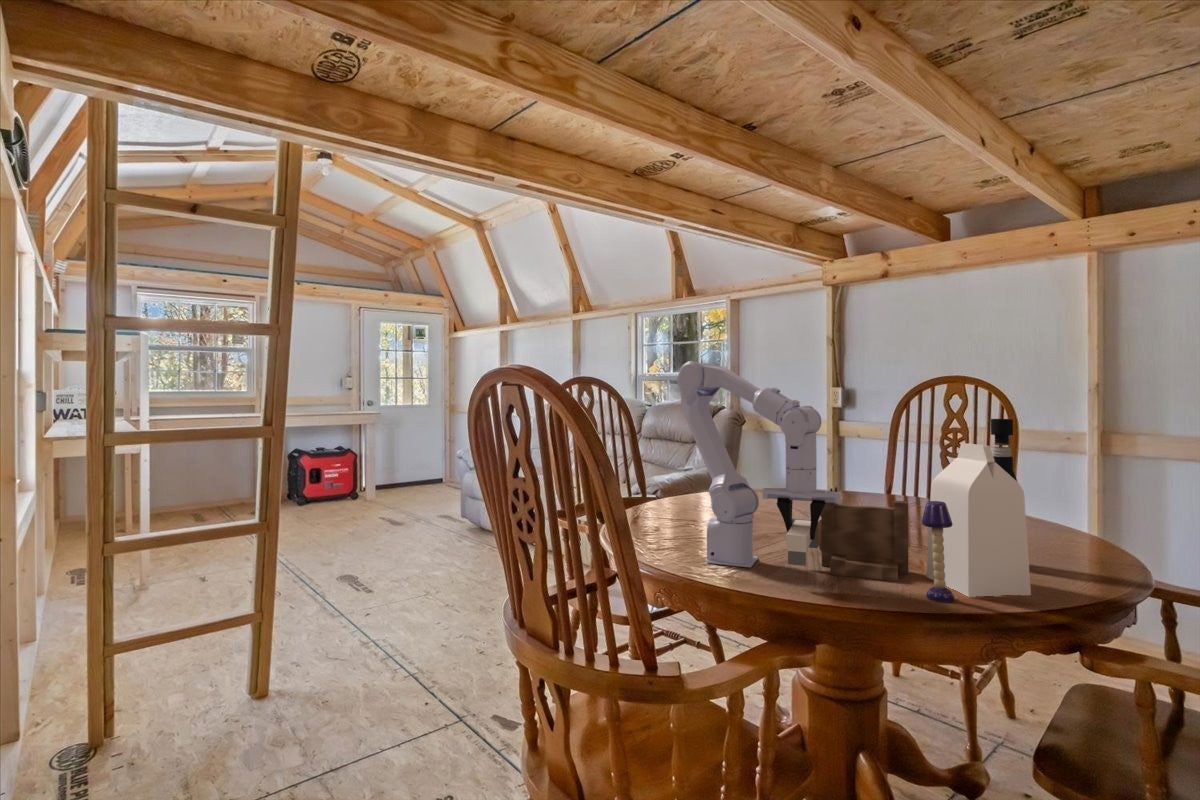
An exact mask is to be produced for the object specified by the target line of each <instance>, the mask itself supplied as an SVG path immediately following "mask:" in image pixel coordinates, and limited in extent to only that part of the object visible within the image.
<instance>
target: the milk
mask: <svg viewBox="0 0 1200 800" xmlns="http://www.w3.org/2000/svg"><path fill="white" fill-rule="evenodd" d="M992 451H993V450H992V449H991V446H990V445H985V444H978V443H977V444H975V443H968V442H967V443H960V446H959V450H958V453H957V457H956V458H955V459H954V460H953V461H952V462H951V463H950V464H949V463H948V465H947V466H946V467H945V468H943V470H941V471H940V472H939V473H938V474H937V475H936V476H935V477H934V479H933V480H932V482H931V486H930V497H929V498H930V500H929V501H941V502H945V503H946V505H947V508H948V511H949V514H950V517H951V520H952V527H949V528H943V534H942V535H943V538H944V541H943V546H944V551H943V553H944V557H945V558H944V561H943V562H944V564H945V569H944V572H945V579H944V580H945V582H946V586H947V587H946V586H945V587H946V588H948V587H949V588H948V589H950V588H951V589H950V590H952V589H954V590H956V591H958V592H960V593H962V594H964V595H966V596H968V597H967V598H977V597H976V596H982V597H981V598H984V597H983V596H994V597H1002V596H1001V595H1021V596H1032V590H1031V577H1030V574H1031V573H1030V562H1029V560H1030V559H1029V545H1028V533H1027V532H1028V531H1027V530H1028V529H1027V514H1026V502H1025V493H1024V489H1023V487H1022V486H1021V484H1020V482H1018V480H1017V481H1016V480H1015V479H1014V478H1012V477H1011V476H1010V475H1009V474H1008V473H1007V472H1006V471H1005V470H1003V469H1002V468H1001V467H1000V466H999V465H998V464H997V463H995V460H994V457H993V452H992ZM932 536H933V533H932V527H928V538H927V557H926V573H925V574H926V575H925V577H926V578H928V579H930V580H932V581H934V580H935V577H934V570H935V569H934V567H933V562H934V559H933V553H934V551H933V548H932V546H933V541H932ZM954 590H953V591H954ZM956 591H955V592H956ZM958 592H957V593H958ZM960 593H959V594H960ZM962 594H961V595H962ZM964 595H963V596H964ZM966 596H965V597H966Z"/></svg>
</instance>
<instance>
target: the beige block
mask: <svg viewBox="0 0 1200 800" xmlns="http://www.w3.org/2000/svg"><path fill="white" fill-rule="evenodd" d="M810 527H811V519H805V518H804V519H803V518H801V519H800V518H792V526H791V528H790V530H789V531H788V533H787V532H786V534H785V535H786V538H785V539H786V540H785V541H786V551H787V565H791V566H802V567H806V565H807V564H806V563H807V562H806V560H807V559H806V558H807V557H806V554H807V552H808V550H809V549H810V548H812V549H819V547H818V523H817V527H816V531H815V538H814V540H810Z"/></svg>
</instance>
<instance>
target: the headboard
mask: <svg viewBox="0 0 1200 800" xmlns="http://www.w3.org/2000/svg"><path fill="white" fill-rule="evenodd" d="M825 503H826V504H825V506H824V508H823V510H822V512H821V516H820V520H821V530H822V552H821V567H829V572H830V575H834V576H840V577H841V576H842V577H852V578H862V579H870V580H879V581H880V580H881V581H889V582H899V575H905V576H906V575H907V576H908V575H909V502H908V501H906V500H893V507H886V506H885V507H883V506H868V505H867V506H866V505H851V504H850V505H849V504H839V505H837V504H835V503H830V502H825Z"/></svg>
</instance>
